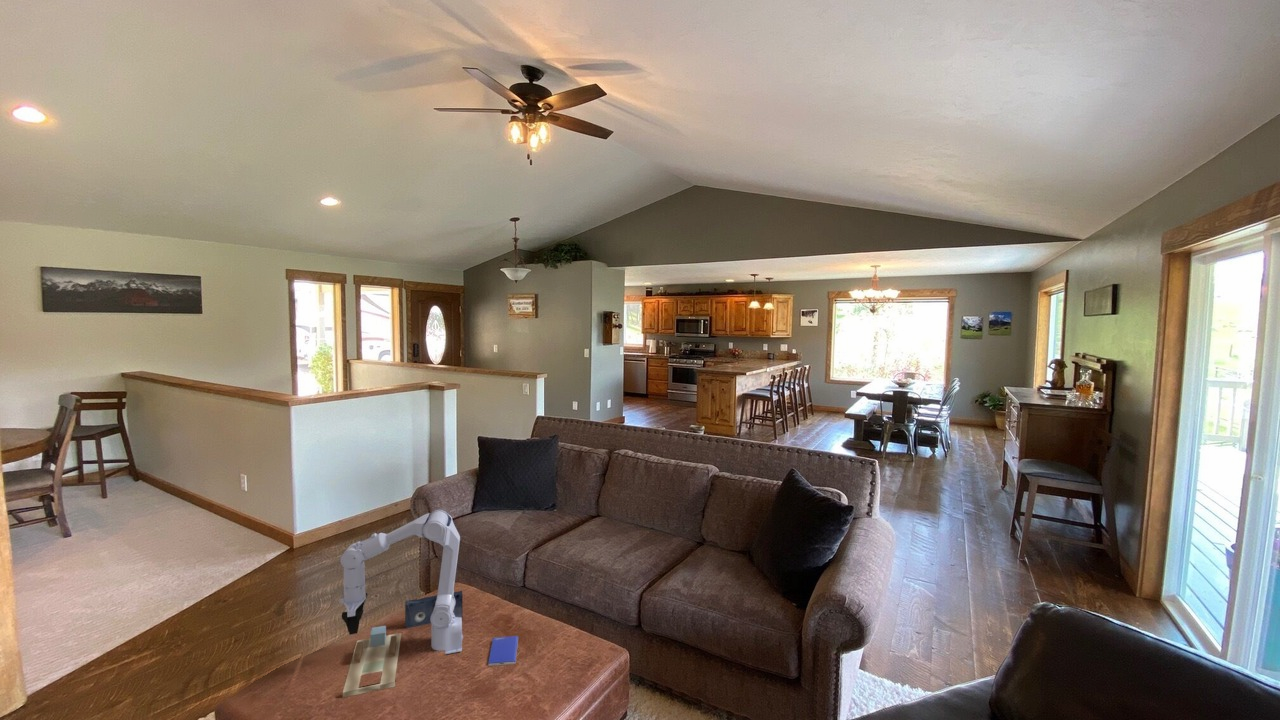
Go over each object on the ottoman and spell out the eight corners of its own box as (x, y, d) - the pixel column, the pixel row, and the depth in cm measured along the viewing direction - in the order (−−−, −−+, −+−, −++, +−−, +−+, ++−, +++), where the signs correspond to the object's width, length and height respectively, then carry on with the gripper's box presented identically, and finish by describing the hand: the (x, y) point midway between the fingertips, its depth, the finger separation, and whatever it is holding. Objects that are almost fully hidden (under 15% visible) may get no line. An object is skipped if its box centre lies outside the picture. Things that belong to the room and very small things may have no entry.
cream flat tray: (401, 637, 168) (401, 624, 168) (394, 686, 146) (394, 671, 145) (357, 644, 164) (356, 631, 163) (342, 697, 141) (342, 682, 141)
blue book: (492, 637, 168) (488, 662, 156) (518, 635, 169) (515, 660, 157) (492, 642, 168) (488, 667, 156) (518, 640, 169) (515, 665, 157)
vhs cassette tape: (462, 617, 180) (462, 590, 180) (462, 621, 178) (462, 594, 177) (405, 628, 173) (404, 600, 172) (405, 633, 170) (404, 604, 170)
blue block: (386, 637, 166) (385, 625, 165) (384, 644, 162) (384, 632, 161) (372, 639, 164) (372, 627, 164) (370, 647, 160) (370, 635, 160)
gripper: (343, 574, 161) (344, 615, 162) (335, 598, 148) (336, 642, 149) (368, 571, 164) (369, 611, 165) (362, 594, 150) (363, 637, 152)
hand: (355, 626), depth 157 cm, fingers open, 7 cm apart
